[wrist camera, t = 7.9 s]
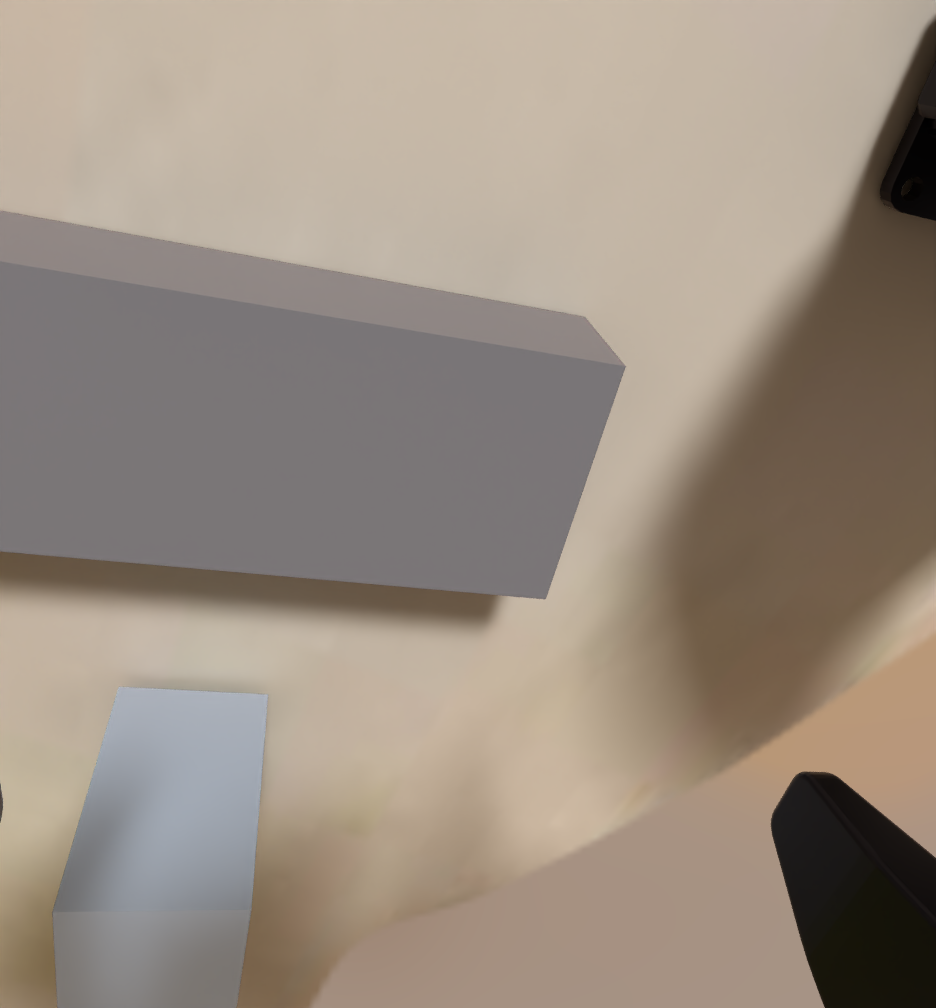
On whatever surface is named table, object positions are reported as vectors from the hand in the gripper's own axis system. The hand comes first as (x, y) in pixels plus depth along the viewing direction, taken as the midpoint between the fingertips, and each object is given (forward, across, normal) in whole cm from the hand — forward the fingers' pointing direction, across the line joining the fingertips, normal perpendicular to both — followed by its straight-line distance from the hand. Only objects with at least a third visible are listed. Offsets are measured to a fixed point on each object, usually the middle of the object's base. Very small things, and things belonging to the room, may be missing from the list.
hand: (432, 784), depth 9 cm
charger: (+11, +4, +13) cm, 17 cm away
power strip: (+11, +9, +1) cm, 15 cm away
